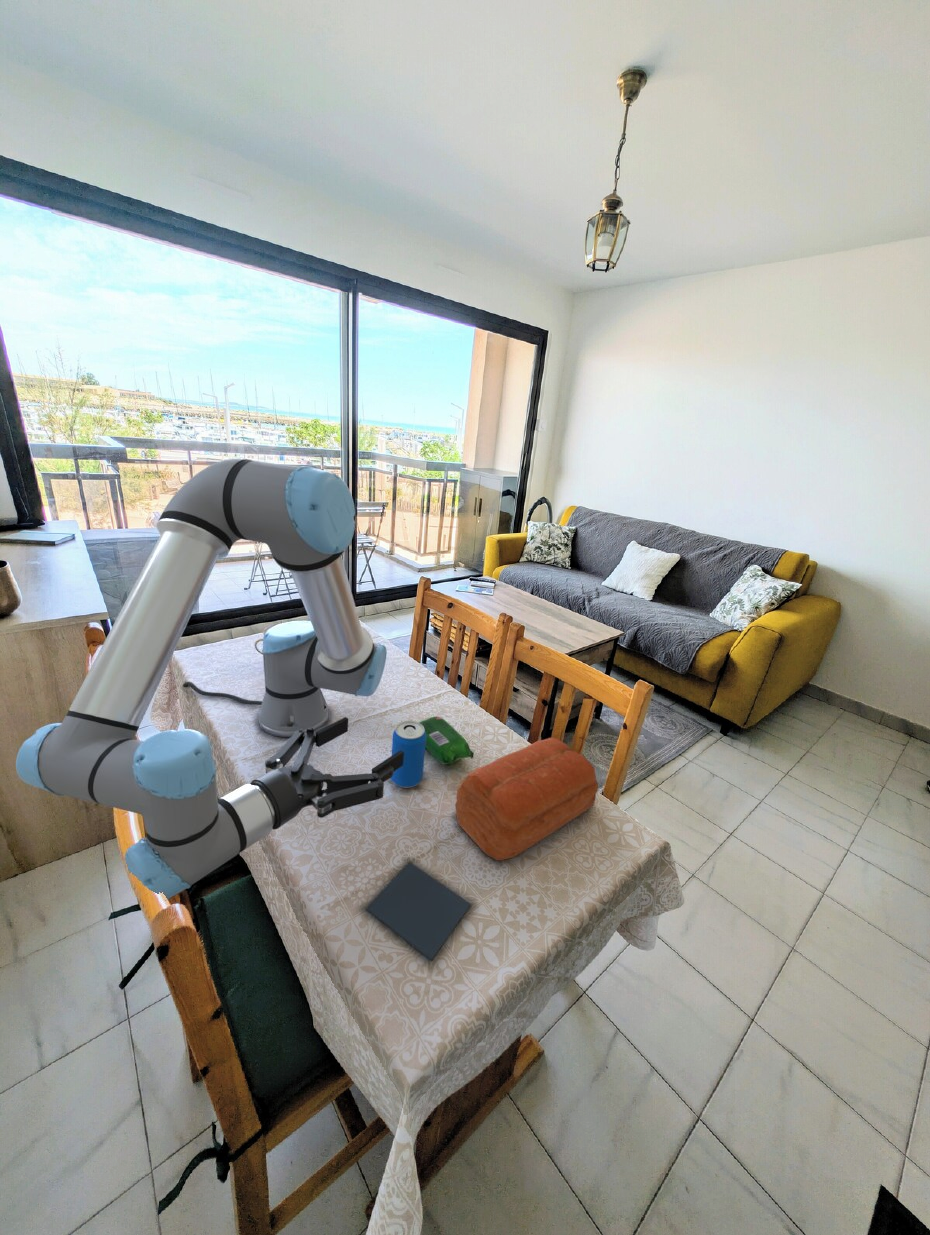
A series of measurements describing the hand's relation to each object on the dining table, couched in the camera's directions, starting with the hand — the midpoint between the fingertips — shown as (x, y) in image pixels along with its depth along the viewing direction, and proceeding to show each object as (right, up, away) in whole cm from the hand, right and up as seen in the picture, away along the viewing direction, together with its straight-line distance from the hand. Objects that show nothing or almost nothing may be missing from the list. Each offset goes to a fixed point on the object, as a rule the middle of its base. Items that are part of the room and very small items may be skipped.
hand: (373, 740), depth 82 cm
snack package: (+11, -8, +23) cm, 26 cm away
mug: (-36, +8, +49) cm, 61 cm away
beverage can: (+4, -11, +13) cm, 18 cm away
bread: (+28, -16, +9) cm, 33 cm away
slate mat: (+9, -22, -12) cm, 26 cm away
